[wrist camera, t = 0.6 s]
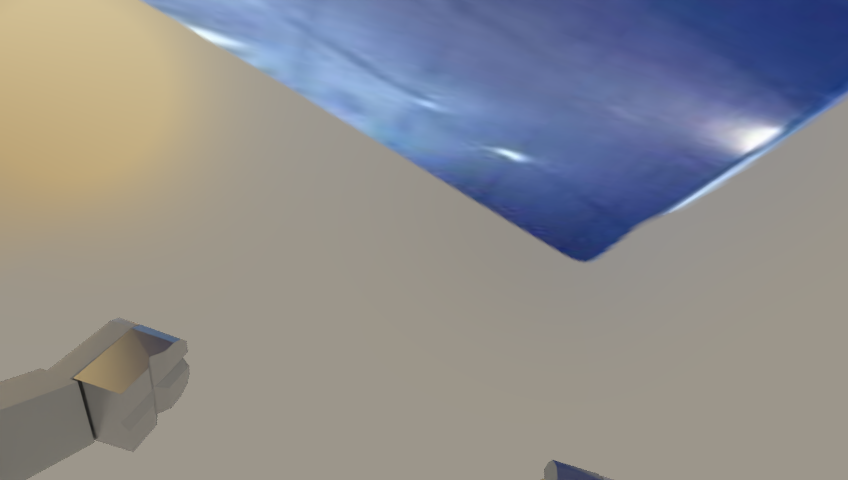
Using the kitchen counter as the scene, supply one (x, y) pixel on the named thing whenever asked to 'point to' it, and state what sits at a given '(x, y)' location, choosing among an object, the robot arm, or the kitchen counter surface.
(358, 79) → the kitchen counter surface
